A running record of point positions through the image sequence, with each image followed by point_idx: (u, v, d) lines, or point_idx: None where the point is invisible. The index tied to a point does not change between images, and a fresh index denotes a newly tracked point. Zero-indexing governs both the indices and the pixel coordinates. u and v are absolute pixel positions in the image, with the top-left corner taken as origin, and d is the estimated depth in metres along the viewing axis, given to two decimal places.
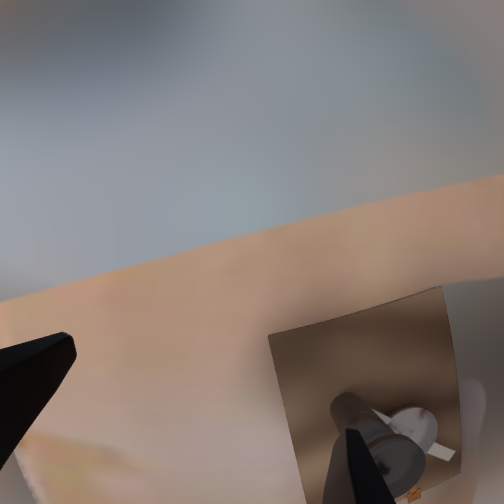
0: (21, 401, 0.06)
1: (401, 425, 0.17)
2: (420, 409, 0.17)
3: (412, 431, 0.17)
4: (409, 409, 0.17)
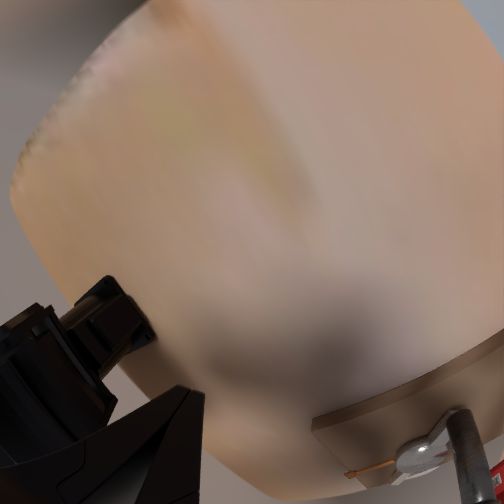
0: (138, 475, 0.06)
1: (436, 452, 0.18)
2: (445, 456, 0.18)
3: (428, 459, 0.19)
4: (447, 450, 0.18)
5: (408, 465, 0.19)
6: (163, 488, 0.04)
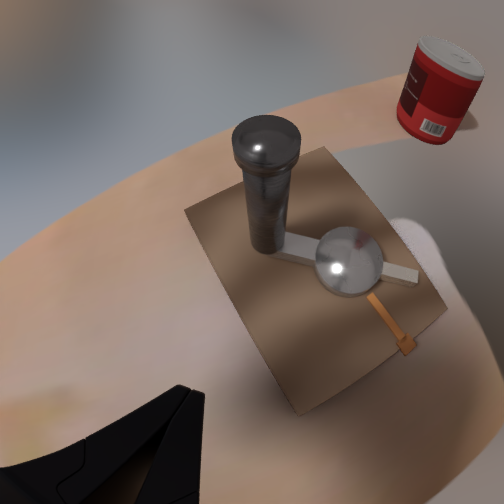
0: (138, 475, 0.06)
1: (333, 245, 0.21)
2: (345, 227, 0.22)
3: (349, 249, 0.21)
4: None
5: (360, 274, 0.20)
6: (163, 488, 0.04)
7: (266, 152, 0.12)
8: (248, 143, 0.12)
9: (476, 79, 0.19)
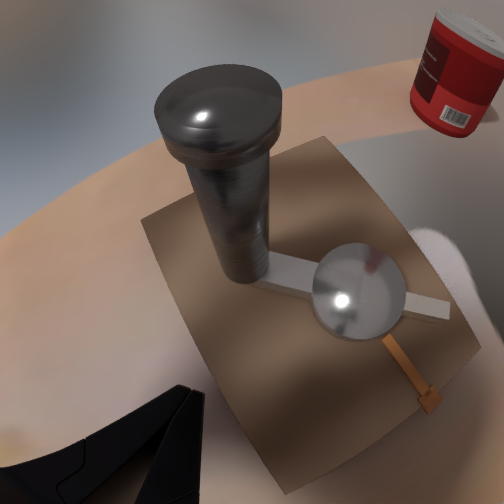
0: (138, 474, 0.06)
1: (337, 270, 0.15)
2: (355, 244, 0.15)
3: (360, 276, 0.15)
4: None
5: (375, 312, 0.14)
6: (163, 488, 0.04)
7: (212, 121, 0.06)
8: (182, 108, 0.06)
9: None
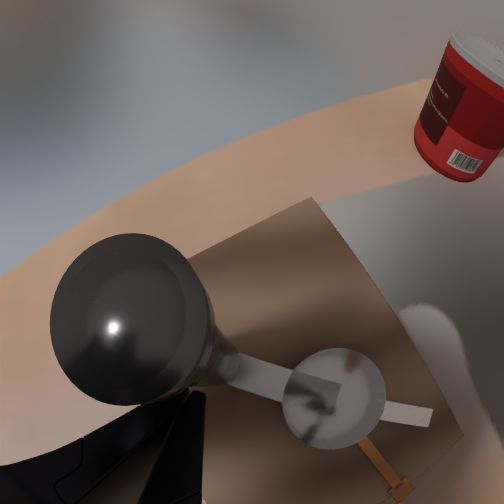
0: (136, 474, 0.06)
1: (313, 378, 0.13)
2: (337, 349, 0.13)
3: (337, 386, 0.13)
4: (318, 352, 0.14)
5: (347, 424, 0.12)
6: (165, 489, 0.04)
7: (108, 371, 0.04)
8: (77, 331, 0.04)
9: None
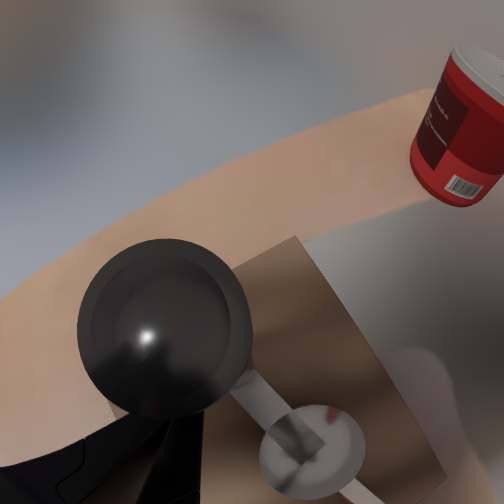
0: (138, 475, 0.06)
1: (305, 426, 0.12)
2: (341, 412, 0.12)
3: (321, 444, 0.12)
4: (324, 405, 0.12)
5: (309, 480, 0.11)
6: (164, 488, 0.04)
7: (121, 371, 0.04)
8: (108, 317, 0.05)
9: None
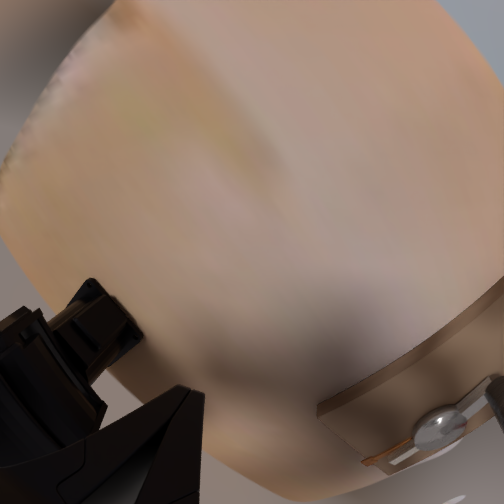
0: (138, 475, 0.06)
1: (457, 426, 0.18)
2: (458, 436, 0.18)
3: (446, 434, 0.18)
4: None
5: (427, 436, 0.18)
6: (163, 488, 0.04)
7: None
8: None
9: None
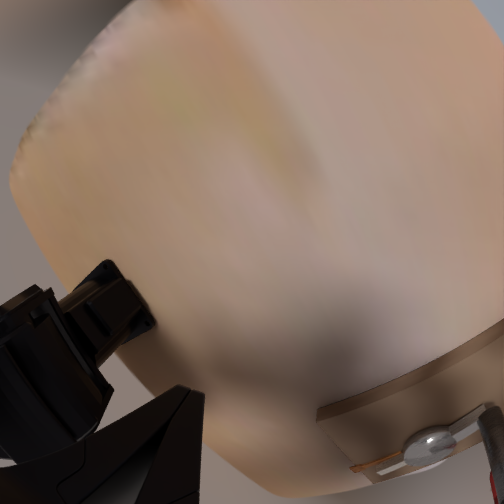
0: (138, 475, 0.06)
1: (446, 447, 0.18)
2: (445, 456, 0.18)
3: (434, 453, 0.18)
4: (452, 450, 0.18)
5: (417, 453, 0.19)
6: (163, 488, 0.04)
7: None
8: None
9: None
